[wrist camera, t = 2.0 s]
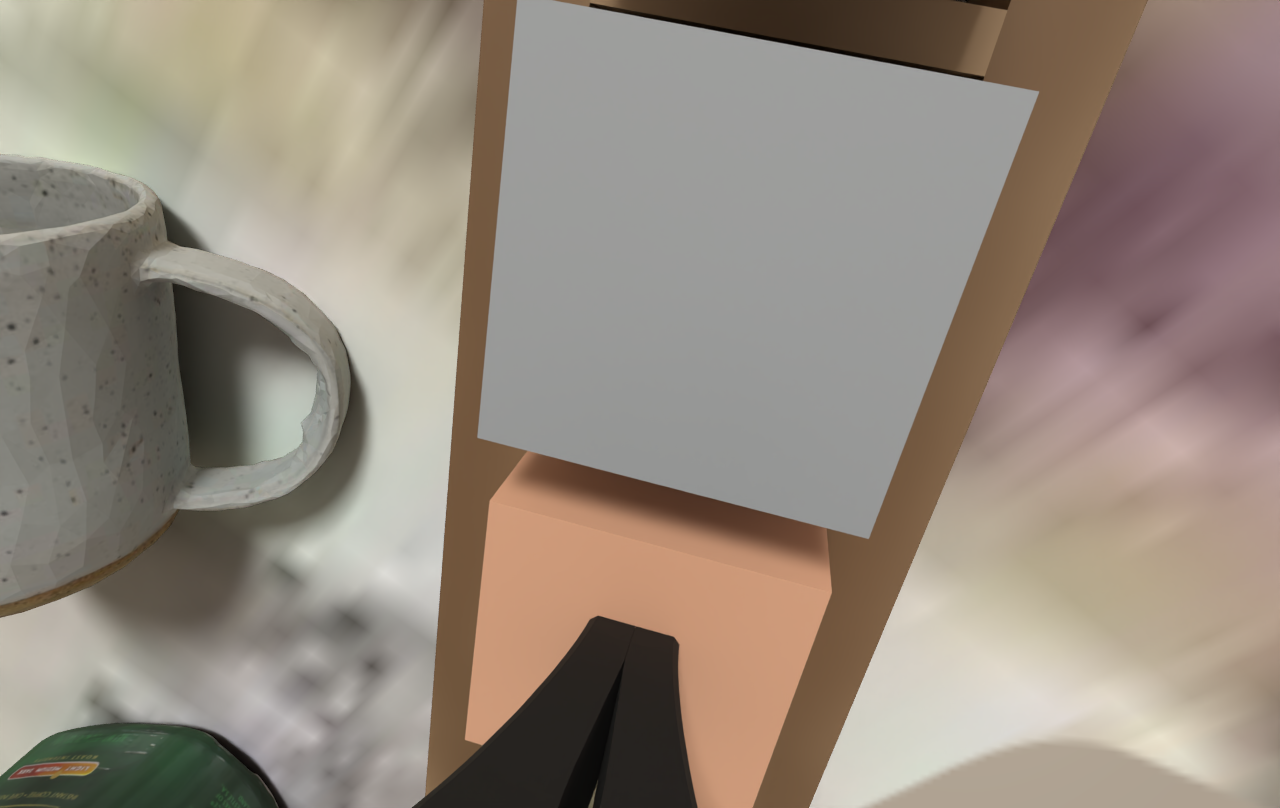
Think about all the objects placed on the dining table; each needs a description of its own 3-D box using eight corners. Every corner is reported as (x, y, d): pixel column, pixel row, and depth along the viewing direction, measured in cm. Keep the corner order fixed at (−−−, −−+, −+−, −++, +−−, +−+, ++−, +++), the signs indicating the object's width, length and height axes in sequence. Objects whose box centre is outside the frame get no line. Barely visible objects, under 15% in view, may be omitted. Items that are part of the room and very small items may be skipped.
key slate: (949, 96, 10) (1039, 92, 6) (845, 409, 12) (868, 539, 8) (611, 30, 11) (517, -7, 7) (567, 342, 13) (477, 438, 9)
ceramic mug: (27, 443, 20) (-371, 626, 13) (-55, 137, 17) (-649, 165, 10) (377, 517, 19) (145, 761, 12) (365, 205, 16) (31, 290, 9)
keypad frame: (1280, -541, 9) (1491, -820, 6) (757, 831, 20) (752, 942, 18) (614, -602, 10) (548, -869, 7) (469, 742, 21) (422, 836, 19)
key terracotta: (821, 460, 13) (832, 592, 10) (756, 656, 15) (745, 826, 12) (568, 397, 14) (489, 500, 10) (538, 595, 16) (464, 739, 12)
